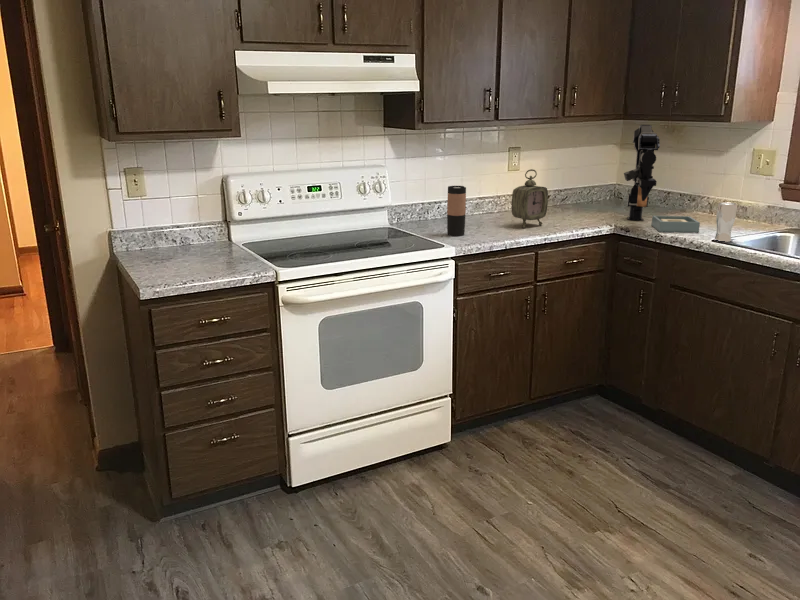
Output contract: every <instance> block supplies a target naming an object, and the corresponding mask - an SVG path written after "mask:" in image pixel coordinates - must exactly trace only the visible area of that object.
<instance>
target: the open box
mask: <svg viewBox="0 0 800 600" xmlns="http://www.w3.org/2000/svg"><path fill="white" fill-rule="evenodd" d="M700 225H701V223H700V221H698V220H697V219H695V218H694V217H692V216H690V215H689V216H688V215H685V216H684V215H652V216H651V227H652V226H653V227H652V228H654V229H655V230H656V231H658V232H659V233H674V232H699V233H700V227H701V226H700Z"/></svg>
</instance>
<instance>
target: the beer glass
mask: <svg viewBox="0 0 800 600" xmlns="http://www.w3.org/2000/svg"><path fill="white" fill-rule="evenodd" d="M737 205H738V203H735V202H726V201H724V202H723V201H722V202H718V205H717V210H716V216H715V217H716V218H715V219H716V220H715V221H716V222H715V223H716V233H715V235H714V239H716V240H720V241H725V242H724V243H730V241H731V242H732V229H733V226H734V224H735V221H736V217H737V209H738V208H737Z"/></svg>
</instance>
